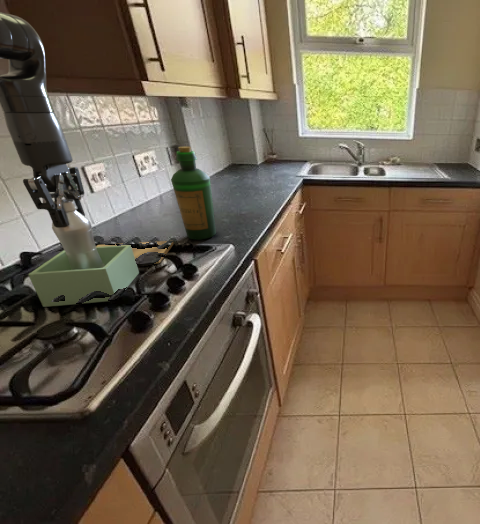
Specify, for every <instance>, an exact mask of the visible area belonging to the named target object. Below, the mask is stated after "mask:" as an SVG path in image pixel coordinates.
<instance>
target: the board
mask: <svg viewBox="0 0 480 524" xmlns="http://www.w3.org/2000/svg"><path fill="white" fill-rule="evenodd" d="M167 241H168V240H162V241H161V240H159V241H156V242H157V244H158V245H162V244H164V243H166V242H167ZM149 242H150V241H143V242H140V243H142V244H146V243H149ZM114 244H115V245H105V244H97V245H95V246H96V247H103V246H117V245H116V244H117V243H114ZM173 246H174V241H173V242H172V243H171V245H170V246H169V247H168V249H167V248H165V249H158V248H157V247H152V248H145V249H137V248H132V251H133V254H134V257H135V259H136V258H138V257H139V256H140V255H142V254H144V253H147V252H158V253H164V254H166V255H167V254H168V253H169V251H170V250H171V249H172V247H173ZM164 258H165V257H161V259H160V260H159V261H158V262H156V263H154V265H155V264H161V262H162V261H163V259H164Z"/></svg>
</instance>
